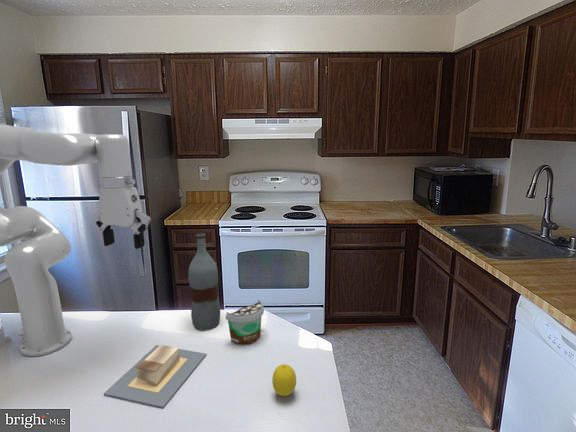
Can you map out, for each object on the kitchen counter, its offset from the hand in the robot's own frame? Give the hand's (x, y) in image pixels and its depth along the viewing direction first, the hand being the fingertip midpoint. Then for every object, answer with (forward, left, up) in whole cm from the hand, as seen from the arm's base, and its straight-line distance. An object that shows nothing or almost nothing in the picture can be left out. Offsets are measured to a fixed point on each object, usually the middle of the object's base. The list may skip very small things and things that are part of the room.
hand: (124, 245), depth 94 cm
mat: (+14, -9, -30) cm, 35 cm away
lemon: (+47, -8, -31) cm, 57 cm away
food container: (+31, +11, -31) cm, 45 cm away
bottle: (+14, +16, -31) cm, 37 cm away
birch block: (+14, -9, -30) cm, 34 cm away
